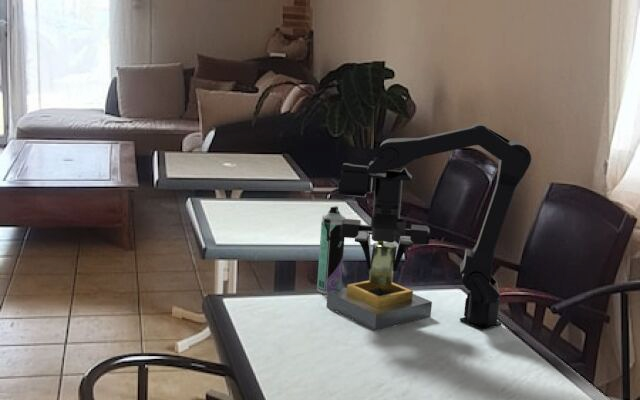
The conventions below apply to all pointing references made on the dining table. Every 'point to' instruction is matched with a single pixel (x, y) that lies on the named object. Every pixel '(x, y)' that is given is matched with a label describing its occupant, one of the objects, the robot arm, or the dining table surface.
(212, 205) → the dining table surface
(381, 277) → the spout can
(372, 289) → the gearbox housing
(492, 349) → the dining table surface
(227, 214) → the dining table surface
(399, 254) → the robot arm
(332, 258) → the spray can
